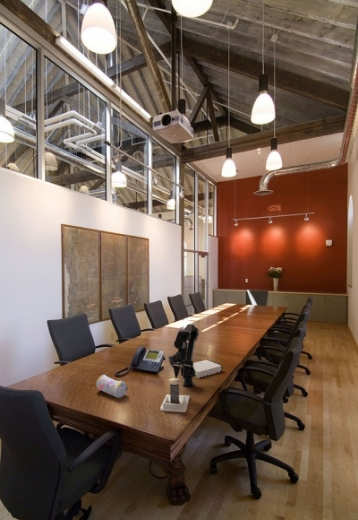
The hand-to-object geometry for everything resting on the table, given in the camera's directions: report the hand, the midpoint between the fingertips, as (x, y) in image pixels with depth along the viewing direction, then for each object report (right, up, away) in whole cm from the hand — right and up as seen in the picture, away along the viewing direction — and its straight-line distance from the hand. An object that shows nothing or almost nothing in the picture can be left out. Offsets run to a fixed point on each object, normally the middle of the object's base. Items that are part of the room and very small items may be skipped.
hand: (179, 378), depth 163 cm
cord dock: (-2, -11, -8) cm, 14 cm away
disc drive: (+18, -14, +42) cm, 48 cm away
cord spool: (-3, -10, -11) cm, 15 cm away
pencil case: (-43, -13, +7) cm, 45 cm away
